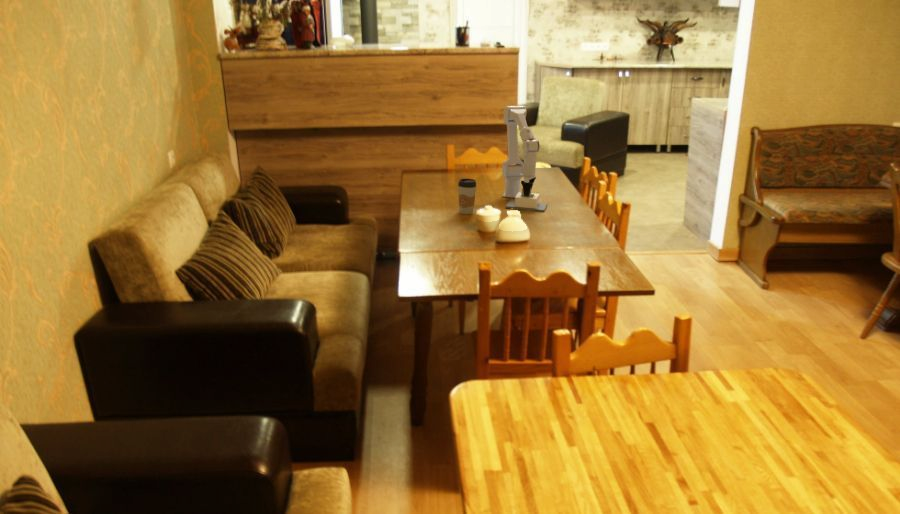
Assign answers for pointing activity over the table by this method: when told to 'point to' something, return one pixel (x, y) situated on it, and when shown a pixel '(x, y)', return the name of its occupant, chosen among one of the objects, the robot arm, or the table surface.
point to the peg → (526, 196)
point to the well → (527, 203)
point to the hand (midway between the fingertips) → (527, 194)
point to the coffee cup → (466, 195)
